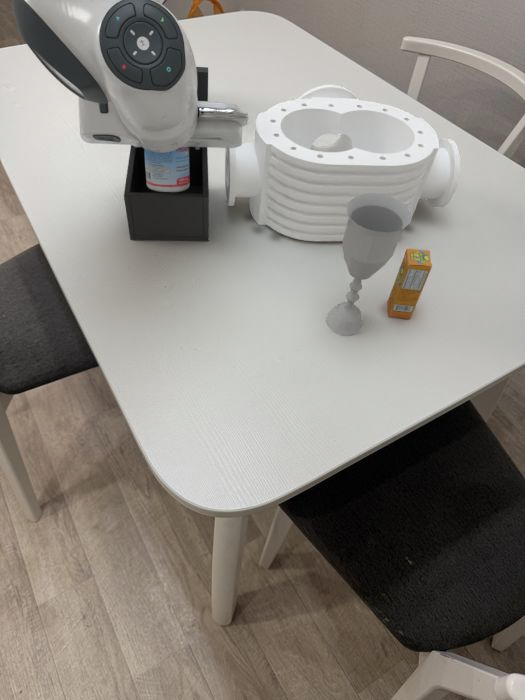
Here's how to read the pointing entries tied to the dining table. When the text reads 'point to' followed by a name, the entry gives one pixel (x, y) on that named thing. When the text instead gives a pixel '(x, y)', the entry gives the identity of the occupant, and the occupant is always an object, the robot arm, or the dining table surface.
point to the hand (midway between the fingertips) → (166, 142)
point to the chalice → (367, 250)
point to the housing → (336, 162)
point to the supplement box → (409, 283)
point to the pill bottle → (167, 170)
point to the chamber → (168, 202)
